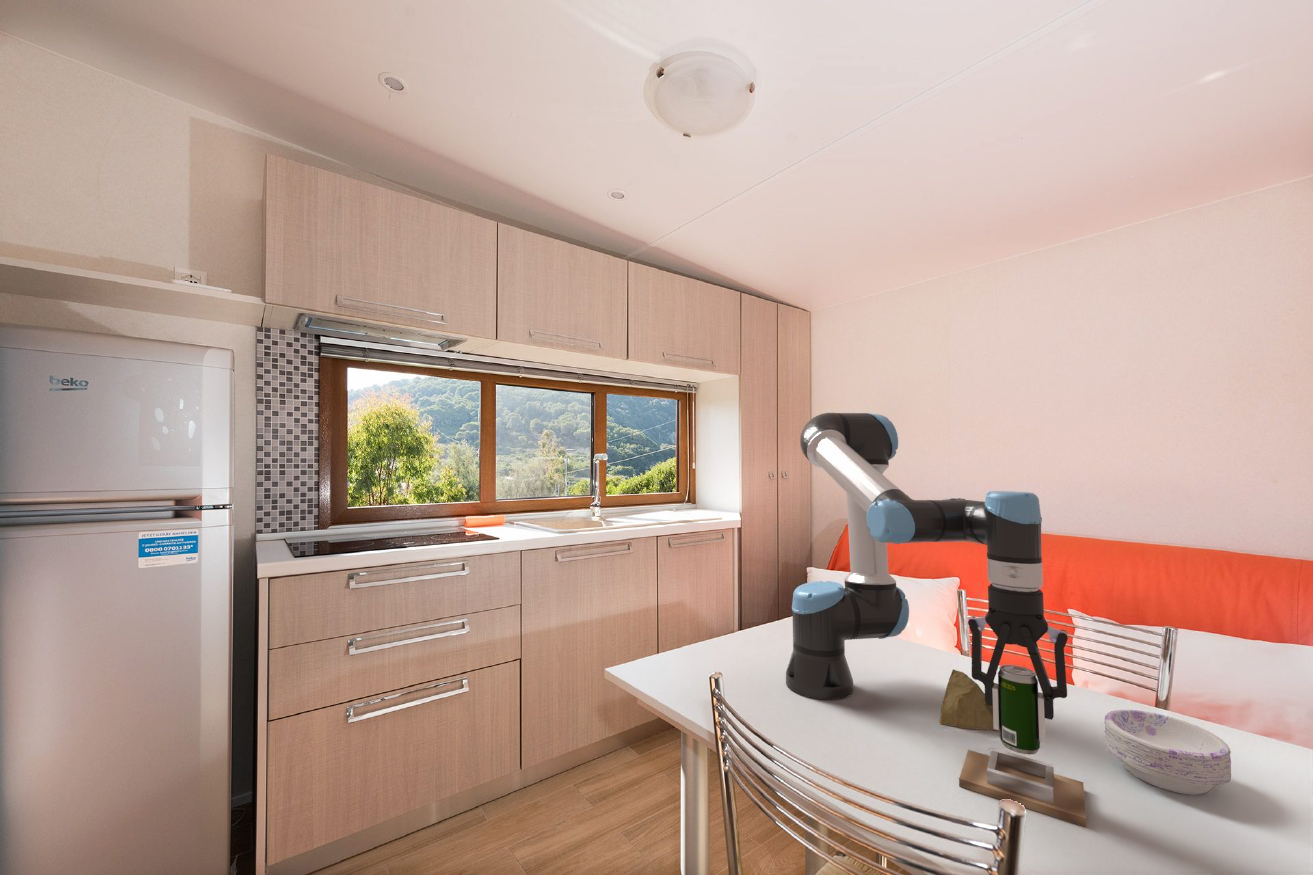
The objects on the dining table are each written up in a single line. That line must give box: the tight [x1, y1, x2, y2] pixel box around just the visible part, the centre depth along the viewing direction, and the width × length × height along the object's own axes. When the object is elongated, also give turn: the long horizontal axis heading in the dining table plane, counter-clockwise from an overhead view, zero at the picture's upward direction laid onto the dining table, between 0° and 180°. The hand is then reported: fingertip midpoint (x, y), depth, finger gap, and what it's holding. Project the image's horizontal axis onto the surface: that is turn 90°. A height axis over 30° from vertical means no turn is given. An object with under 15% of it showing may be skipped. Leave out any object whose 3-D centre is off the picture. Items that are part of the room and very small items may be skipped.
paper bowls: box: [1103, 709, 1232, 796], centre depth 89 cm, size 15×15×8 cm
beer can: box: [997, 664, 1041, 755], centre depth 86 cm, size 5×5×12 cm
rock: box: [938, 669, 1000, 731], centre depth 106 cm, size 11×9×10 cm
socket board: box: [958, 747, 1087, 828], centre depth 86 cm, size 16×11×3 cm
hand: (1019, 731), depth 86 cm, fingers closed on beer can, 5 cm apart
